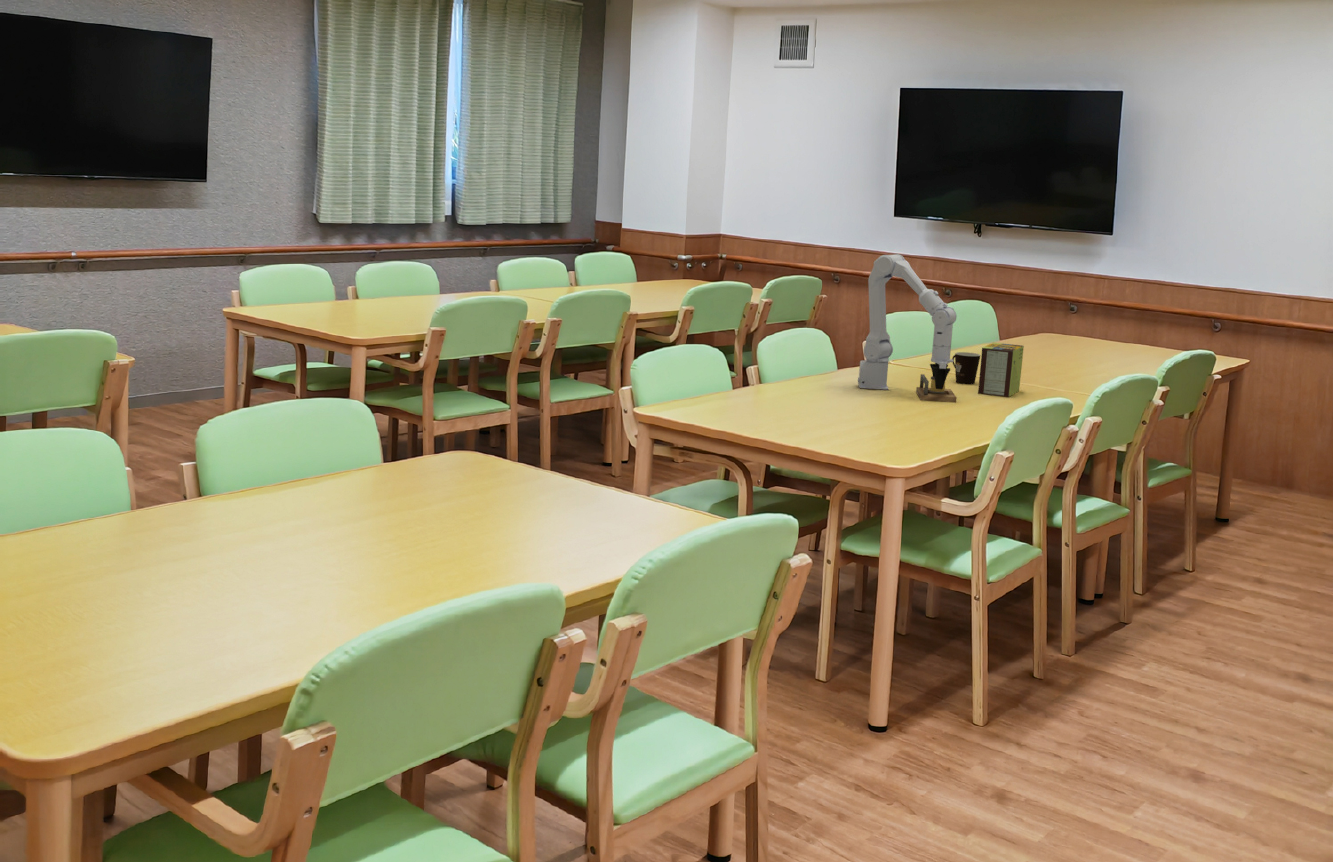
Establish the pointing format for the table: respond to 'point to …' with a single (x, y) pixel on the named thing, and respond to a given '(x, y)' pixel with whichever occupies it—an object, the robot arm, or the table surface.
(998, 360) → the protein box
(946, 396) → the brown piece
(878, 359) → the robot arm
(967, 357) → the coffee mug
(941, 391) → the cord reel
